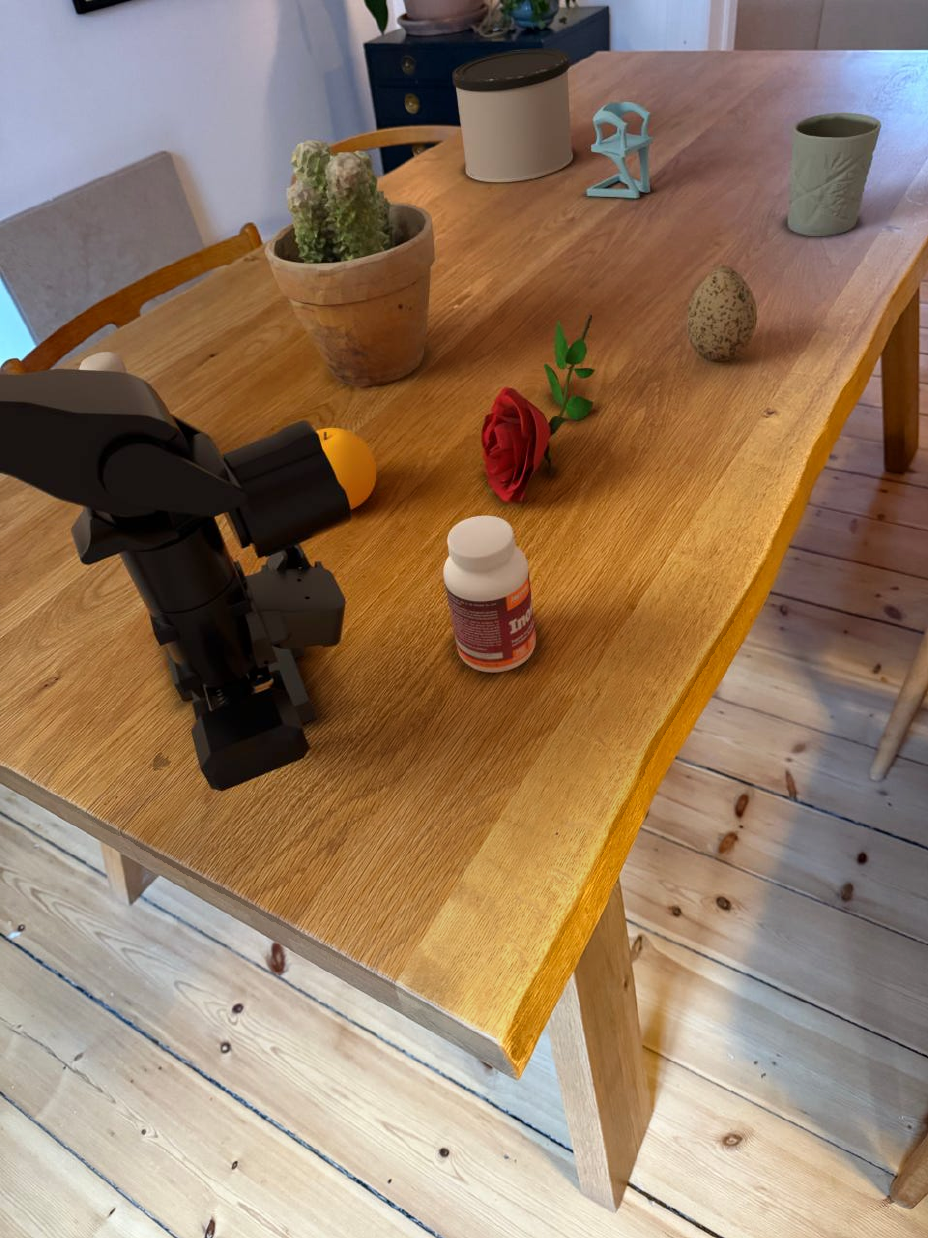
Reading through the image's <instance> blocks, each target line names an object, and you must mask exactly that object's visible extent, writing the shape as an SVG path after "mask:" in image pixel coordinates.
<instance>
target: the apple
mask: <svg viewBox="0 0 928 1238" xmlns="http://www.w3.org/2000/svg"><path fill="white" fill-rule="evenodd" d="M315 431H316V432H317V433H318V435H319V438H320V442H321V445H322V449H323V450H324V452H325V454H326V456H327V458H328V459H329V461H330V464H331V466H332V468H333V470H334V472H335V474H336V477H337V479H338V482H339V483H340V484H341V486H342V487H343V488H344V490H345V491H346V494H347V497H348V500H349V504H350V508H351V510H354V509H356V508H357V507H359V506H361V505H362V504H363V503H364V502H365V501H366V500H368V498H369V497H370V496H371V494H372V492H373V491H374V489H375V486H376V483H377V462H376V460H375V459H376V458H375V456H374V454H373V452H372V449H371V448H370V447H369V445H368V443H366V441H365V440H364V439H362V438H361V437H360V436H359V435H357V434H355V433H354V432H352V431H350V430H348V429H344V428H340V427H325V428H321V429H318V430H315Z"/></svg>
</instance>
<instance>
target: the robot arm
mask: <svg viewBox="0 0 928 1238" xmlns="http://www.w3.org/2000/svg"><path fill="white" fill-rule="evenodd" d="M316 431H317V430H315V429H314V427H313V426H312V425H311V423H310V422H309V421H307V420H305V419H301V420H299V421H297V422H293V423H291V424H289V425H287V426H284V427H283V428H282V429H280V430H278V431H277V432H276V433H272V434H271V435H268V436H266V437H263V438H261V439H257V440H256V441H253V442H251V443H248V444H245V445H242V446H240V447H237V448H235V449H232V450H230V451H227V452H224V453H221V451H220V450H219V448H218V446H217V445H216V443H215V442H214V440H213V439H212V437H211V436H210V435H209V434H208V433H206V432H204V431H202V430H201V429H199V428H198V427H196V426H194V425H192V424H190V423H189V422H187V421H185V420H183V419H181V418H180V417H178V416H176V415H174V414H173V413H171V412H170V410H169V409H168V407H167V405H166V403H165V402H164V400H163V399H162V398H161V396H160V395H159V393H158V392H157V391H156V389H154V387H153V386H152V385H151V384H150V383H148V382H147V381H145V380H144V379H143V378H142V377H139V376H136V375H133V374H131V373H128V372H126V373H123V372H116V371H96V370H79V369H74V368H52V369H45V370H40V371H33V372H26V373H20V374H11V373H9V374H8V373H0V474H2V475H6V476H9V477H12V478H15V479H17V480H18V481H21V482H23V483H25V484H27V485H28V486H30V487H33V488H35V489H37V490H38V491H41V492H43V493H45V494H47V495H49V496H51V497H53V498H55V499H57V500H59V501H63V502H66V503H68V504H69V503H70V504H73V505H77V506H80V507H82V511H81V513H80V514H79V515H78V517H77V519H76V520H75V522H74V523H73V525H71V527H70V533H71V535H72V539H73V541H74V544H75V547H76V551H77V554H78V557H79V560H80V562H81V564H83V565H86V566H91V565H93V564H96V563H99V562H101V561H104V560H106V559H109V558H111V557H113V556H116V555H118V556H119V557H120V560H121V561H122V563H123V565H124V567H125V569H126V571H127V573H128V575H129V577H130V579H131V580H132V583H133V584H134V586H135V588H136V590H137V592H138V594H139V595H140V596H139V597H140V598H141V599H142V601H143V603H144V605H145V607H146V609H147V611H148V614H149V619H150V623H151V627H152V628H151V629H152V632H153V635H154V637H155V639H156V641H157V643H158V645H159V646H160V647H162V646H165V644H166V646H167V648H168V650H169V652H170V654H171V655H172V657H173V659H174V661H175V662H174V664H175V668H176V672H177V676H178V680H179V683H180V685H181V686H182V688H183V690H184V692H186V691H189V690H191V691H192V692H193V693H194V694H195V695H197V696H198V697H199V698H200V700H197V701H195V702H194V701H192V703H191V705H192V708H193V712H194V717H195V720H196V722H195V723H194V724H193V726H192V727H191V729H190V732H191V733H190V734H191V736H192V741H193V745H194V748H195V749H194V750H195V753H196V756H197V761H198V764H199V769H200V771H201V773H202V775H203V777H204V778H205V781H206V782H207V784H208V786H209V788H210V789H211V790H215V791H219V792H222V793H223V792H224V791H228V790H230V789H232V788H235V787H237V786H239V785H242V784H245V783H247V782H249V781H251V780H254V779H257V778H259V777H261V776H264V775H266V774H269V773H271V772H274V771H277V770H278V769H281V768H284V767H286V766H288V765H291V764H294V763H296V762H298V761H300V760H303V759H305V757H306V756H307V754H308V753H309V751H310V749H311V746H310V743H309V741H308V739H307V735H306V733H305V730H304V728H303V724H301V722H300V720H299V717H298V714H297V712H296V709H295V707H294V704H293V702H292V699H291V697H290V694H289V692H287V689H286V686H285V683H284V681H283V678H282V675H281V673H280V670H279V669H277V670H275V671H272V672H270V670H269V665H270V664H273V663H276V662H278V660H277V657H276V654H275V652H274V649H273V647H272V646H274V647H276V648H280V649H291V648H301V649H302V648H309V647H319V646H321V647H323V648H330V647H334V646H337V645H338V644H340V642H341V641H342V634H343V626H344V619H345V612H346V605H347V604H346V603H347V600H346V598H345V595H344V594H343V591H342V590H341V588H340V586H339V583H338V582H337V580H336V578H335V576H334V574H333V572H332V571H331V570H329V569H327V568H325V567H324V565H323V564H322V561H321V560H317V561H314V566H313V565H312V563H310V561H309V559H308V557H307V555H306V553H305V551H304V549H303V547H302V545H301V544H302V543H305V542H307V541H310V540H312V539H314V538H317V537H319V536H321V535H324V534H326V533H328V532H331V531H334V530H335V529H338V528H341V527H343V526H345V525H348V524H350V523H351V522H352V517H353V516H352V509H351V508H350V504H349V500H348V497H347V494H346V491H345V490H344V488H343V487H342V486H341V484H340V483H339V482H338V479H337V477H336V474H335V472H334V470H333V468H332V466H331V464H330V461H329V459H328V458H327V456H326V454H325V452H324V450H323V449H322V445H321V442H320V438H319V435H318V433H317V432H316ZM220 515H224V517H225V519H226V523H227V524H228V526H229V529H230V531H231V532H232V535H233V537H234V539H235V540H236V543H237V544H238V546H239V548H240V549H241V550H243V549H246V548H249V547H251V545H252V548H253V551H254V552H255V554H256V556H257V559H261V558H267V559H266V561H265V564H262V565H260V566H261V568H260V571H257V572H258V573H257V572H256V573H257V574H255V575H252V574H249V575H248V574H247V575H246V573H245V572H244V569H243V567H242V564H241V562H240V560H235V561H234V558H233V556H232V555H231V553H230V551H229V549H228V546H227V544H226V542H225V538H224V537H223V534H222V532H221V529H220V526H219V524H218V521H217V519H216V517H218V516H220Z"/></svg>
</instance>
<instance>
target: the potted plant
mask: <svg viewBox="0 0 928 1238" xmlns="http://www.w3.org/2000/svg"><path fill="white" fill-rule="evenodd" d="M290 157H291V160H290V165H291V166H294V168H293V174H294V175H295V178H296V180H295V182H294V183H293V184H291V186H290V187H285V188H286V199H287V202H288V204H287V206H286V209H287V210H288V211H289V213H290V216H291V217H292V222H291V223H288V224H287V225H285V226H283V228H281V229H280V230H278V232H277V233H276V235H275V236H274V237H272V238H271V239H270V240H269V241H268V242H267V244H266V246H265V247H264V254H265V257H266V258H267V261H268V262H269V264H270V268H271V272H272V274H273V276H274V277H275V281H276V284H277V287H278V288H279V291H280V292H281V293H282V294H283V295H284V296H285V297H286V298H287V299H288V300H289V303H290V304H291V306H292V309H293V311H294V314H295V315H296V318H297V319H298V321H299V323H300V324H301V326H302V327H303V330H304V331H305V332H306V334H307V336H308V337H309V339H310V341H311V343H312V344H313V345H314V348H316V350H317V351H318V353H319V355H320V356H321V358H322V359H323V361H324V363H325V364H326V366H327V369H328V371H329V372H330V374H331V375H332V376H333V377H334V379H335V380H337V381H338V382H341V383H342V384H344V385H345V384H346V385H349V386H352V387H353V386H354V387H359V388H367V387H368V388H369V387H376V386H382V385H385V384H390V383H394V382H396V381H398V380H400V379H403V378H405V377H407V376H408V375H410V374H411V373H413V371H414V370H416V369H417V368H418V367H419V366H420V364H421V362H422V360H423V357H424V355H425V348H426V347H425V346H426V340H427V332H428V320H429V308H430V307H429V306H430V293H431V292H430V290H431V272H432V271H431V270H432V269H431V268H432V266H433V264H434V263H435V261H436V255H435V235H434V226H433V218H432V215H431V213H430V212H428V210H426V209H424V208H422V207H420V206H417V205H415V204H412V203H411V204H410V203H405V202H395V201H394V202H392V201H388V198H387V197H385V195H384V194H385V192H384V190H382V191H381V190H378V188H377V187H378V186H377V185H378V178H377V175H376V173H375V172H374V170H373V166H374V163H373V162H372V155H370V154H369V153H368V152H367V151H363V150H356V151H354V152H353V151H348V150H347V151H345V152H344V151H343V152H341V151H339V152H338V153H333V152H332V149H331V148H330V146H329V145H328V143H327V142H326V141H325V142H324V141H322V140H320V139H319V140H311V139H308V140H305V141H302V142H299V143H298V144H297V146H296V147H294V150H293V151H292V152H291V153H290Z"/></svg>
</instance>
